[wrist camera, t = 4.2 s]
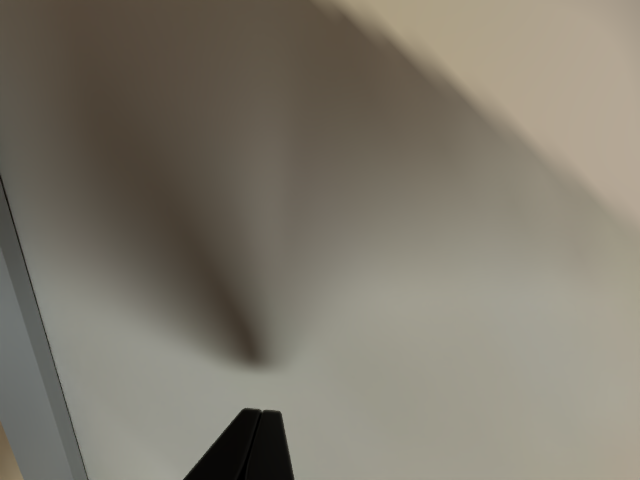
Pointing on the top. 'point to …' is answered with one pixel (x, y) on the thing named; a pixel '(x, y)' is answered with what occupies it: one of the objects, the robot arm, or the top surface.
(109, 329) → the top surface
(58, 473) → the grey flat panel
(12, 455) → the oak T block
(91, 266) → the top surface
